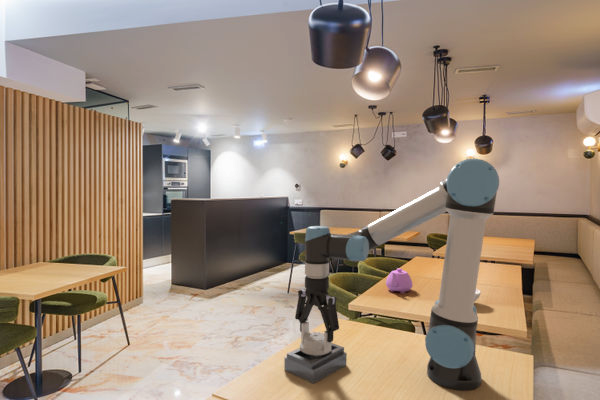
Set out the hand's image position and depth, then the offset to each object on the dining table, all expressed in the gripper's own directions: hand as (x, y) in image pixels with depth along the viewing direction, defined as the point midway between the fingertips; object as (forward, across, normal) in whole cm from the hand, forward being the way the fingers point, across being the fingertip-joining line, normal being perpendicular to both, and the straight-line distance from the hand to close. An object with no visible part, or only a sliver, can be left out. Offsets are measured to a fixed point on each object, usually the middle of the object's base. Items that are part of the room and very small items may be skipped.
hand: (316, 346), depth 122 cm
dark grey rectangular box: (+7, 0, -1) cm, 7 cm away
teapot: (+7, +25, -99) cm, 102 cm away
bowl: (+7, -9, -100) cm, 101 cm away
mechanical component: (+1, 0, 0) cm, 1 cm away
